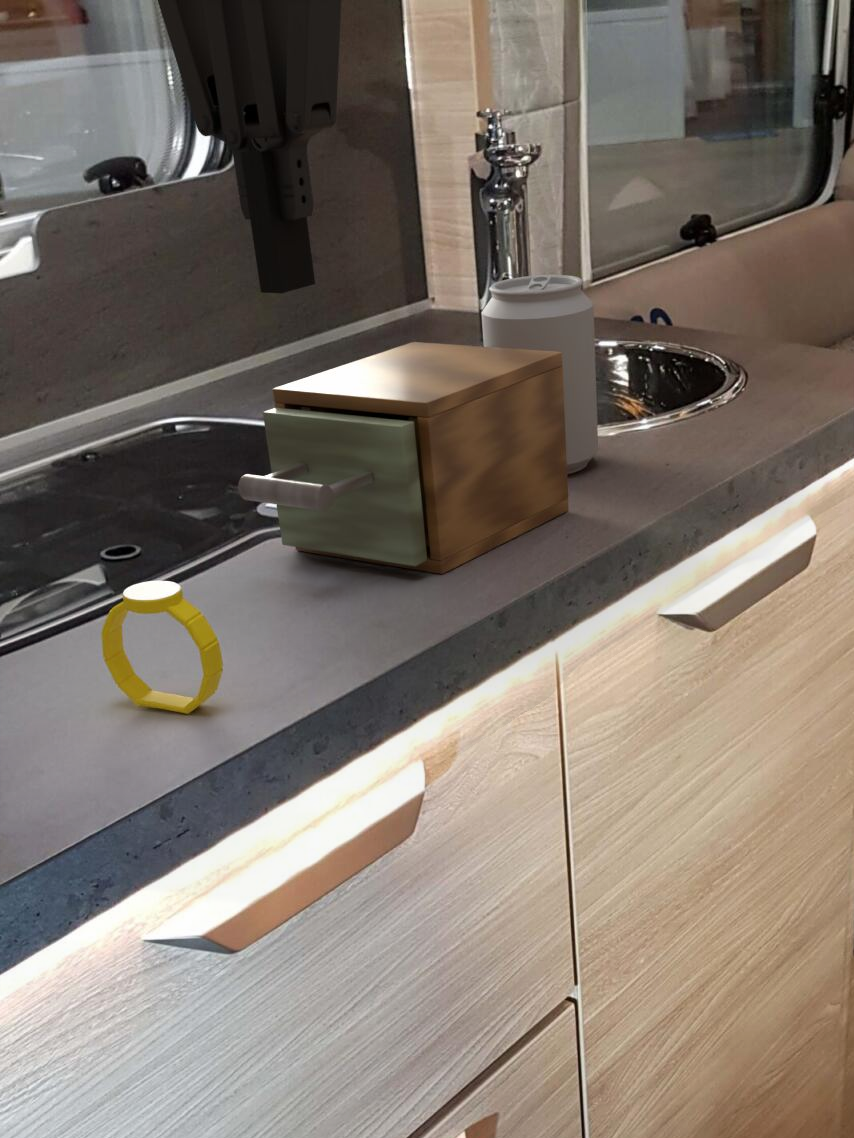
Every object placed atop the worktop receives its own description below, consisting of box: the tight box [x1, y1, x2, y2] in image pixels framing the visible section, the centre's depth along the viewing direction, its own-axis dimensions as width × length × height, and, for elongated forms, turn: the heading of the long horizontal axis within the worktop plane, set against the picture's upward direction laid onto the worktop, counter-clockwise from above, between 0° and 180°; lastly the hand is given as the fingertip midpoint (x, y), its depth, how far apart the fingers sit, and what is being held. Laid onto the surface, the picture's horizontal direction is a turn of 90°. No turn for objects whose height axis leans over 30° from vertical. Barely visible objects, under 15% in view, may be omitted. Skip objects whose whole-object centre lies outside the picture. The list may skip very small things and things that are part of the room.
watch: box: [100, 580, 224, 715], centre depth 75 cm, size 6×3×6 cm, turn 68°
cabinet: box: [272, 341, 570, 575], centre depth 95 cm, size 14×12×10 cm
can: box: [481, 274, 599, 475], centre depth 105 cm, size 8×8×12 cm
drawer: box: [237, 406, 430, 566], centre depth 92 cm, size 18×10×8 cm, turn 145°
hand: (288, 287), depth 82 cm, fingers closed
